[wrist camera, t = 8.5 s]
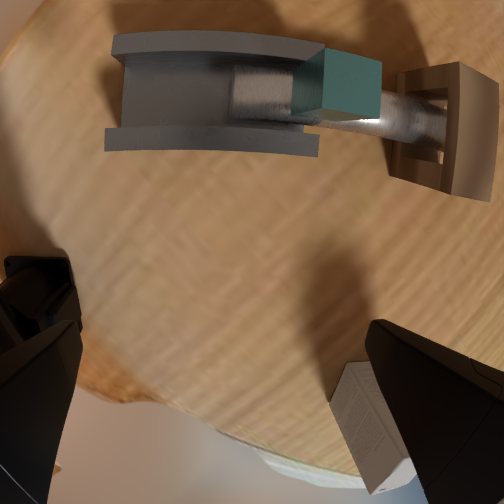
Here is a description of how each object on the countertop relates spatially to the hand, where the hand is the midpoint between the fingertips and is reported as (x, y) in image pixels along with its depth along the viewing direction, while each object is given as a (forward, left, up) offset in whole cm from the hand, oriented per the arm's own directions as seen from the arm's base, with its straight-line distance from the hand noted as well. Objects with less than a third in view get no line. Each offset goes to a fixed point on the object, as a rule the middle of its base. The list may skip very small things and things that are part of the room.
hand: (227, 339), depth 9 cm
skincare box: (+14, -16, -13) cm, 25 cm away
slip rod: (+8, +8, -11) cm, 16 cm away
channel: (-1, +8, -13) cm, 15 cm away
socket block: (+14, +8, -13) cm, 21 cm away
